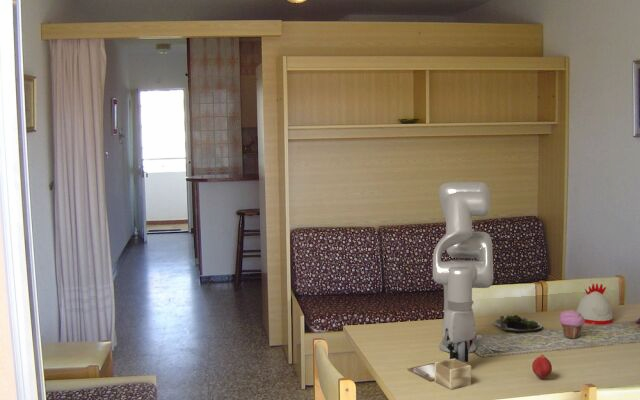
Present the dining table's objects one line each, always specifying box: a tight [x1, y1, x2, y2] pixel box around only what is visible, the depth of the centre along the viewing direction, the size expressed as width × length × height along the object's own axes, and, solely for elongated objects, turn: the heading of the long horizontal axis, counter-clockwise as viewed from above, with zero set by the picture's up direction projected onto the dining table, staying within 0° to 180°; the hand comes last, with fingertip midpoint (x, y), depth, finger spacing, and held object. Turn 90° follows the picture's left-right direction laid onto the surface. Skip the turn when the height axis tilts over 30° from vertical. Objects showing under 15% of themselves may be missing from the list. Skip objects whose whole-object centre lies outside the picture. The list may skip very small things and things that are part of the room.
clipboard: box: [407, 359, 446, 383], centre depth 213 cm, size 16×12×1 cm
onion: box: [531, 353, 553, 380], centre depth 205 cm, size 6×6×8 cm
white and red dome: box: [576, 283, 614, 326], centre depth 269 cm, size 14×14×15 cm
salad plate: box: [493, 314, 544, 334], centre depth 262 cm, size 19×18×5 cm
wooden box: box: [434, 358, 472, 391], centre depth 203 cm, size 8×8×6 cm
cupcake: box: [558, 310, 585, 339], centre depth 247 cm, size 9×9×10 cm
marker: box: [456, 341, 466, 363], centre depth 212 cm, size 4×4×10 cm
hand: (459, 361), depth 212 cm, fingers closed on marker, 3 cm apart
